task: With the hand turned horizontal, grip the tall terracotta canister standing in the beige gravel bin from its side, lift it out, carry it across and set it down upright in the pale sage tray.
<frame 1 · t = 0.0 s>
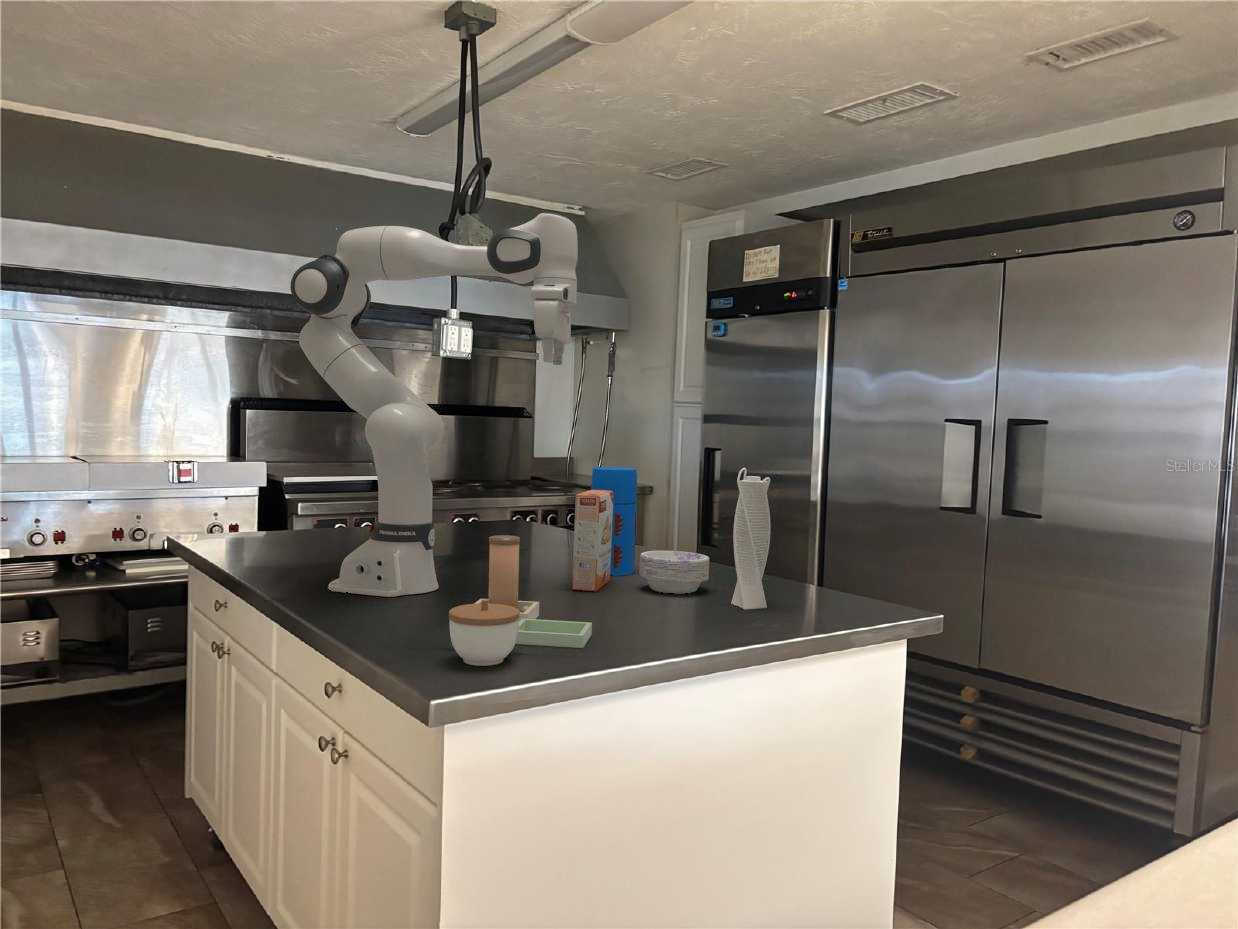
hand: (553, 363, 185), 48 cm above the counter, tool pointing down, fingers open, 8 cm apart
sage tray: (551, 644, 149), on the counter
paper bowls: (673, 591, 198), on the counter
skyscraper: (748, 606, 184), on the counter
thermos: (611, 573, 218), on the counter
terracotta canister: (502, 620, 161), point 1 cm above the counter, touching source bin
cracker box: (592, 586, 200), on the counter
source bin: (502, 625, 161), on the counter
lidded jar: (483, 661, 139), on the counter
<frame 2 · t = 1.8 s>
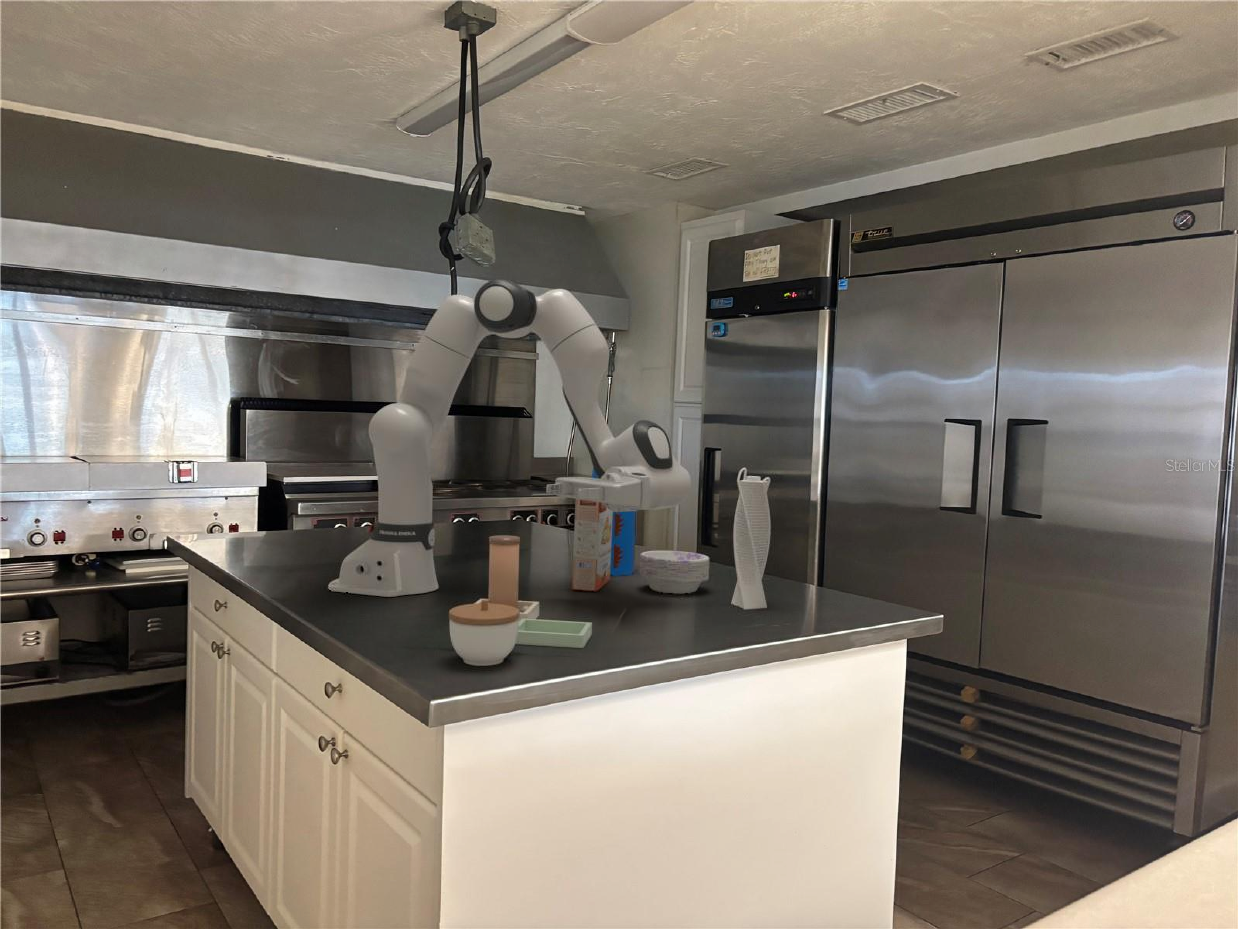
hand: (562, 491, 168), 24 cm above the counter, tool horizontal, fingers open, 8 cm apart
nothing on the counter moved.
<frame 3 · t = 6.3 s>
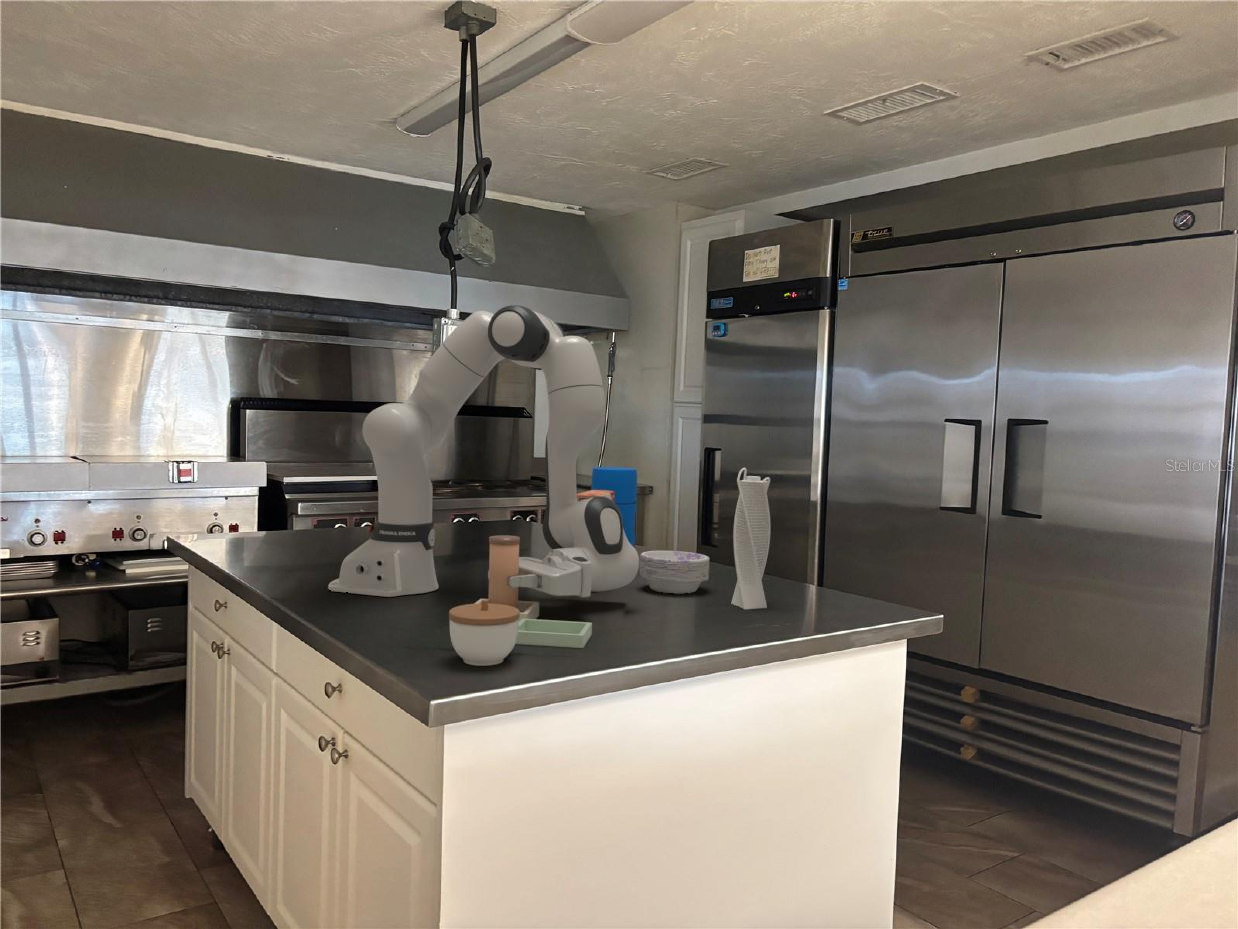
hand: (499, 578, 160), 9 cm above the counter, tool horizontal, fingers closed on terracotta canister, 5 cm apart
terracotta canister: (502, 620, 161), point 1 cm above the counter, touching gripper, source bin
everything else where it was.
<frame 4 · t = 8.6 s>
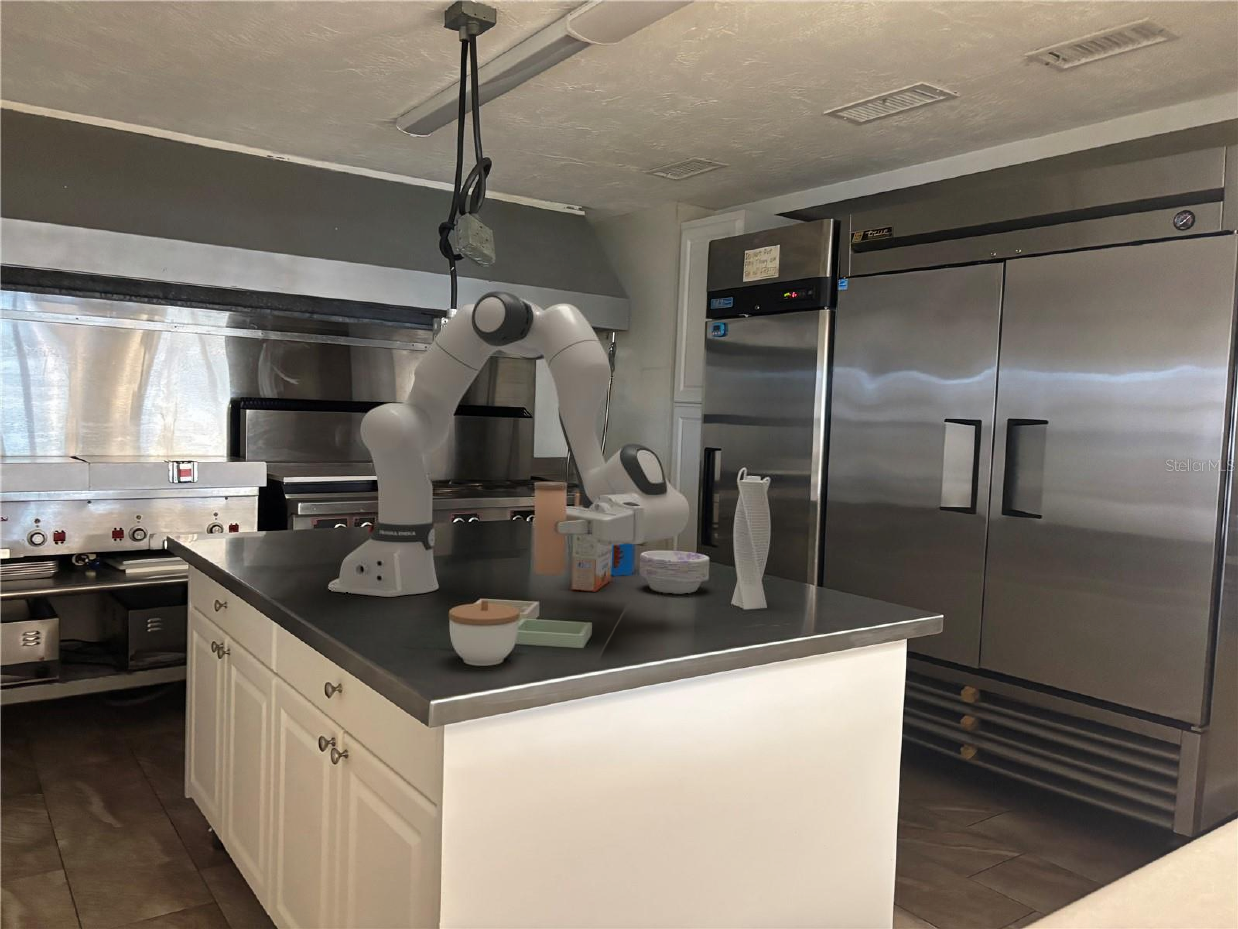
hand: (546, 525, 149), 20 cm above the counter, tool horizontal, fingers closed on terracotta canister, 5 cm apart
terracotta canister: (550, 571, 150), point 12 cm above the counter, touching gripper
everything else where it was.
when the fingers open (10 cm above the counter, at t = 10.9 s): terracotta canister drops 1 cm, resting on sage tray.
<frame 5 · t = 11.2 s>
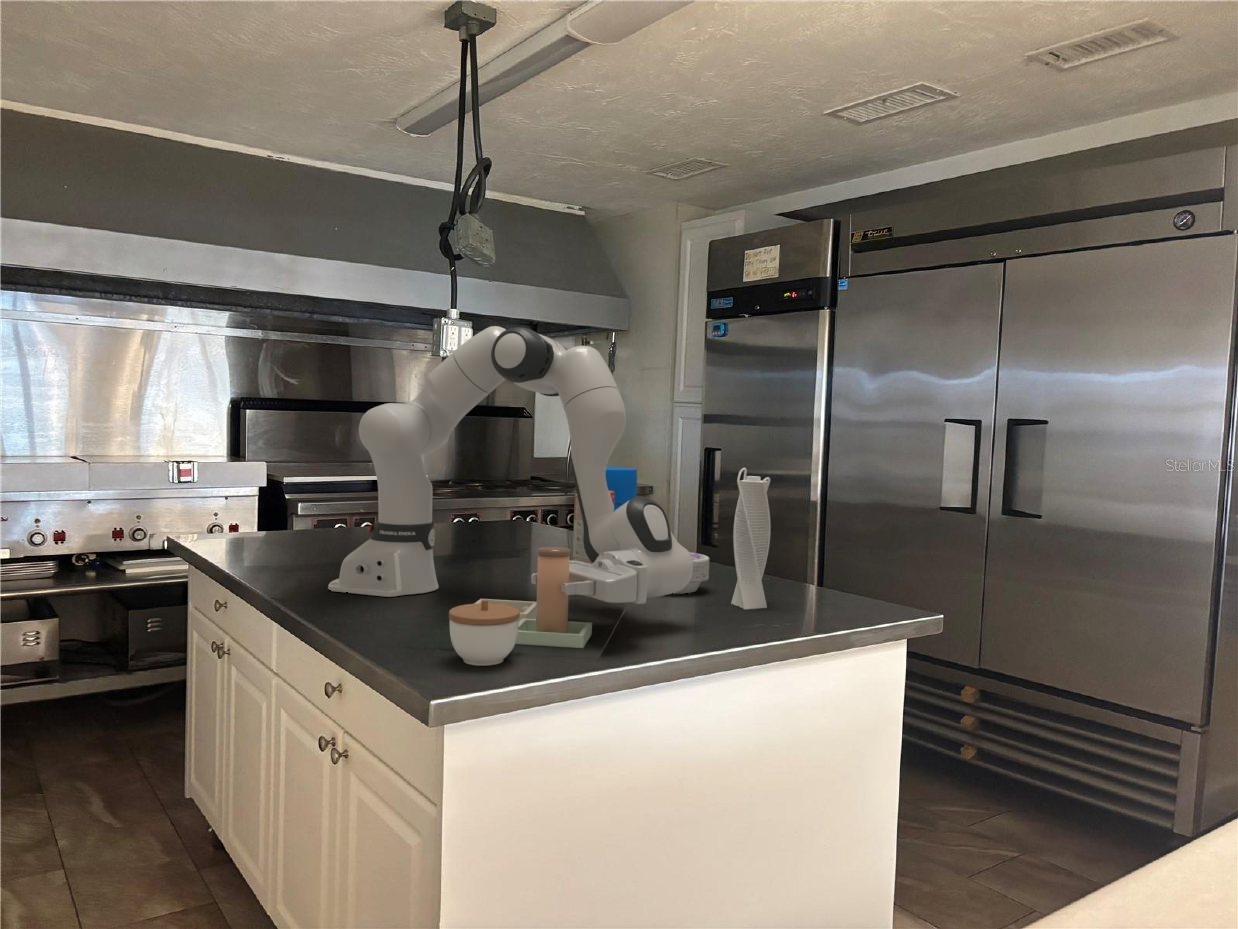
hand: (548, 584, 148), 10 cm above the counter, tool horizontal, fingers open, 8 cm apart
terracotta canister: (551, 638, 149), point 1 cm above the counter, touching sage tray
everything else where it was.
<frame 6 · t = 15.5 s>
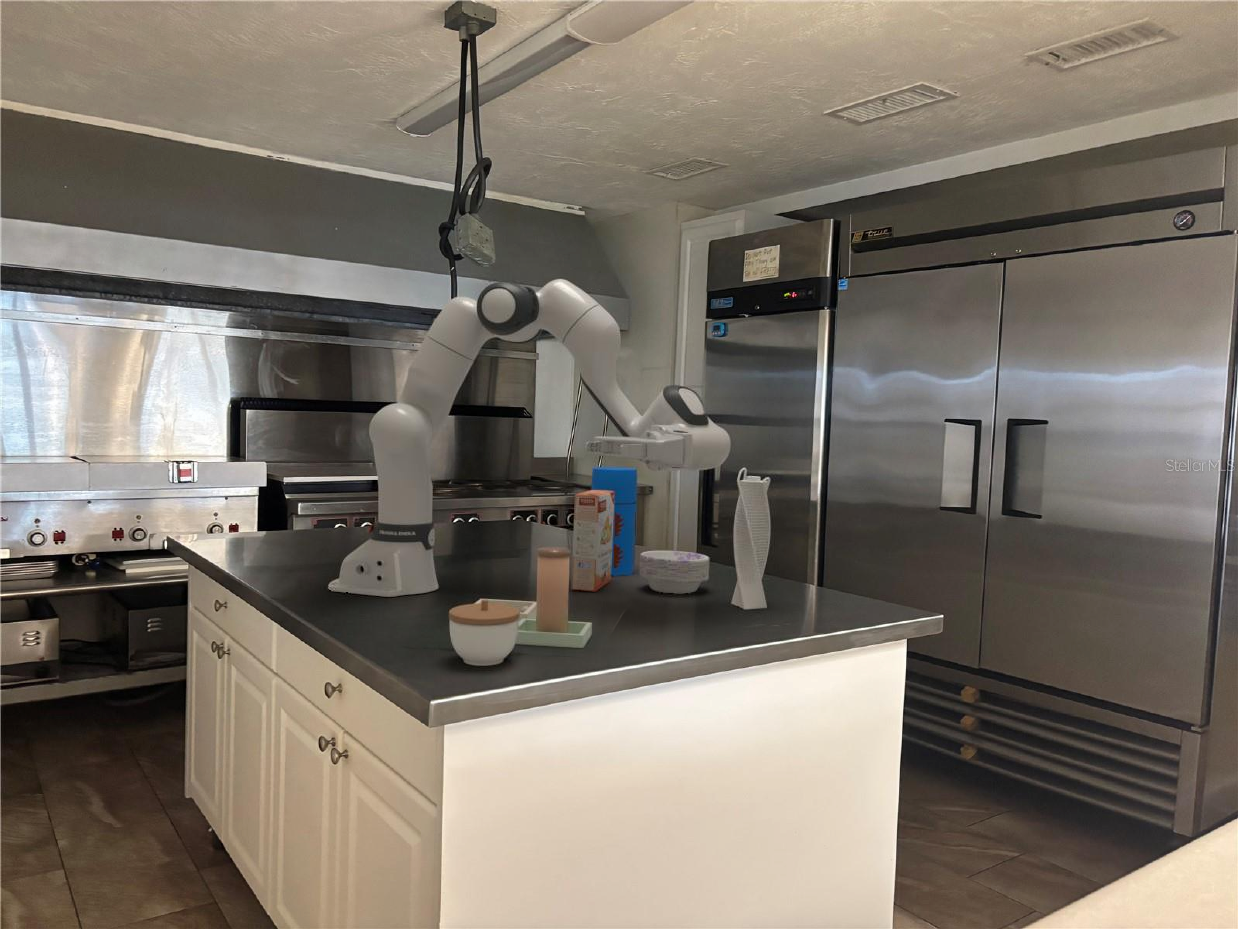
hand: (603, 448, 163), 32 cm above the counter, tool horizontal, fingers open, 8 cm apart
nothing on the counter moved.
at the end: terracotta canister inside the target area on the sage tray (0.1 cm from its centre), point 1.0 cm above the sage tray's base; terracotta canister tilted 0°; the gripper is holding nothing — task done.
